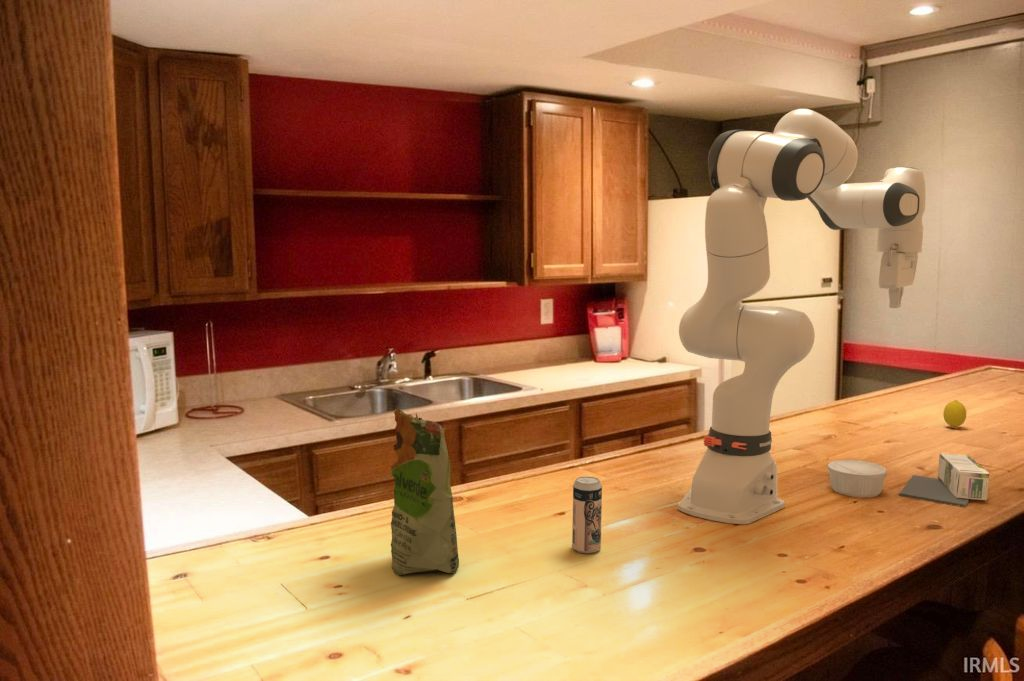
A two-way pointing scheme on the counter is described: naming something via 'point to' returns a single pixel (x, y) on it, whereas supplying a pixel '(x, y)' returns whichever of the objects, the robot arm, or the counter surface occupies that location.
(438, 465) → the pouch
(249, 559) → the counter surface
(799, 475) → the counter surface
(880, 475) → the ramekin
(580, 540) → the beer can
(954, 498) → the mat
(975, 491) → the syrup box
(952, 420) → the lemon
